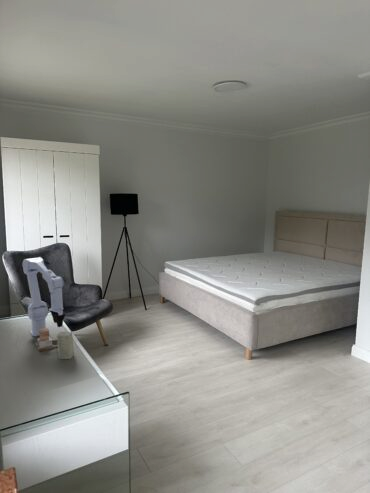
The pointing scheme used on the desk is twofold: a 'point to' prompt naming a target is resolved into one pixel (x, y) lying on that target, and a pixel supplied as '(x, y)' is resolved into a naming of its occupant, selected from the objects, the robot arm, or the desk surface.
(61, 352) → the skincare box
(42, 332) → the terracotta block
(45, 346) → the plate
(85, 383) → the desk surface
